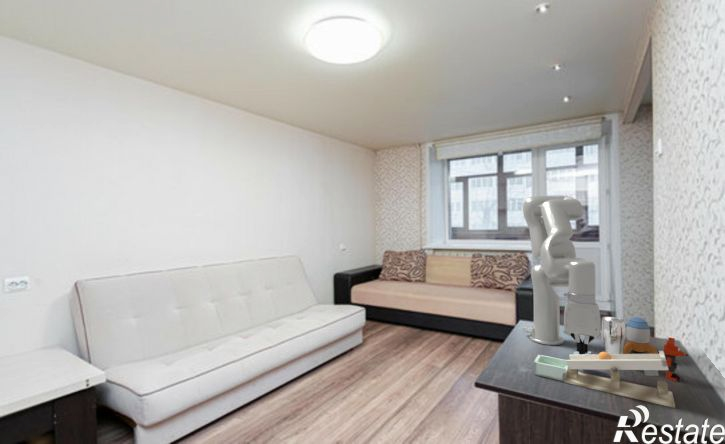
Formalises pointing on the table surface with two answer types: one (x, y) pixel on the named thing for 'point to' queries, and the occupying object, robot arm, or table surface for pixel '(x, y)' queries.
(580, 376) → the stand
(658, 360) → the lever
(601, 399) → the table surface
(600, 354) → the ball
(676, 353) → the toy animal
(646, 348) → the toy rocket
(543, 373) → the tray
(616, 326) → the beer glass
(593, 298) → the robot arm
